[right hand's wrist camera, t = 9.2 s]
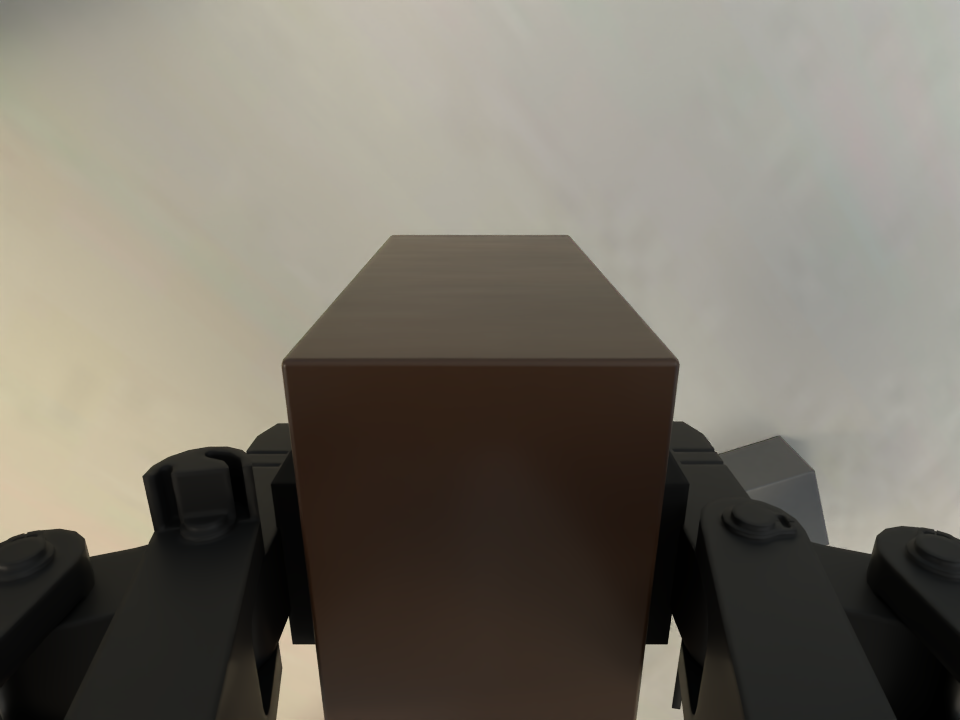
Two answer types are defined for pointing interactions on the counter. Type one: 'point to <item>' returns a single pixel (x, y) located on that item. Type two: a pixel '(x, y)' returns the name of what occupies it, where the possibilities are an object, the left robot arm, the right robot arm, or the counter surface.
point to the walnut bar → (480, 482)
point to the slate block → (780, 482)
